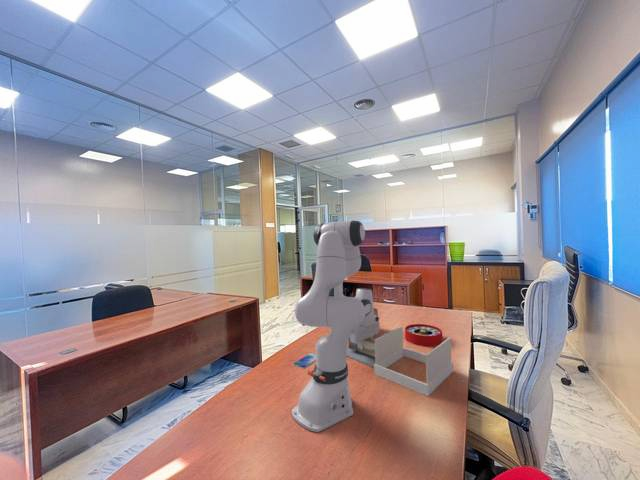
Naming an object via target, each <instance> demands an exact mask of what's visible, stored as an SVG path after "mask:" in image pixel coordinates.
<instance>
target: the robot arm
mask: <svg viewBox="0 0 640 480" xmlns="http://www.w3.org/2000/svg"><path fill="white" fill-rule="evenodd" d="M365 236H366V229H365V227H364V225H363V223H362V222H360V221H359V220H350V221H349V220H345V221H343V220H342V221H337V220H336V221H330V222H326V223H324V222H323V223H319V224H317V225H316V226H315V227H314V229H313V235H312V237H313V241H314V243H315V244H316V246H317V247H316V264H315V274H314V279H313V282H312V285H311V287H310V289H309V290H308V291H307V292H306V293H305V294H304V295H303V296H302V297H300V298H299V300H298V301H297V302H296V304H295V307H294V315H295V319H296V320H297V322H298V323H299V324H301V325H303V326H308V327H313V328H329V329H331V332H330V333H328V334H326V335H323V336H322V337H320V338H319V339H318V340H317V342H316V344H315V354H316V361H315V364H314V368H313V369H311V368H308V369H307V371H306V374H307V375H308V376H310V377H311V379H310V380H309V381H308V383H307V384H306V386H305V387H304V388H303V389H302V391H301V392H300V394H299V397H298V403H297V404H296V406H294V407H293V408H292V409H291V416H292V418H293V420H294V421H295V422H296V423H298V425H300V426H301V427H303V428H305V429H306V430H308V431H311V432H314V433H315V432H316V433H319V432H322V431H323V430H325V429H327V428H329V427H331V426H334V425H335V424H338V423H339V422H342V421H343V420H345V419H348V418H349V417H351V416H353V415H355V414H354V408H353V401H352V398H351V391H350V387H349V381H348V376H349V369H348V368H349V367H348V363H347V357H346V349H347V348H348V347H347V346H348V343H349V337H350V341H351V342H352V343H355V344H357V343H358V344H359V347H360V349H364V345H363V344H362V343H363V340H366V339H368V338H371V339H374V336H376V335H378V334H379V333H380V316H379V315H378V316H375V315H374V313H373V308H374V297H373V291H372V289H371V288H365V287H364V288H363V287H358V288H356V291H355V295H354V297H352V296H345V294H344V291H343V290H344V286H343V284H344V283H343V282H344V281H345V280H346V278H350V277H351V276H353V275H355V274H356V273H358V272H359V270H360V269H361V267H362V257H361V251H360V245H362V244H363V243H364V241H365ZM331 291H332V292H331ZM330 292H331V294H332V295H329V294H330Z"/></svg>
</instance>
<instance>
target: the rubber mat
mask: <svg viewBox="0 0 640 480" xmlns="http://www.w3.org/2000/svg"><path fill="white" fill-rule="evenodd" d="M346 358H350V359H352V360H354V361H357V362H359V363H361V364H364V365H367V366H369V367H371V368H374V364H375V357H374V356H371V355H368V354H365V353H363V352H360V351H355V350H352V349H349V347H347V349H346Z"/></svg>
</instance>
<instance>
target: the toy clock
mask: <svg viewBox="0 0 640 480" xmlns="http://www.w3.org/2000/svg"><path fill="white" fill-rule="evenodd" d="M404 339H405V341H406V342H407V343H410V344H412V345H415V346H419V347H420V346H421V347H427V348H429V347H437V346H438V345H440V344H441V343H443V330H442V329H441V328H439V327H437V326H434V325H430V324H426V323H415V324H413V323H412V324H408V325H406V326H405V327H404Z"/></svg>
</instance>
